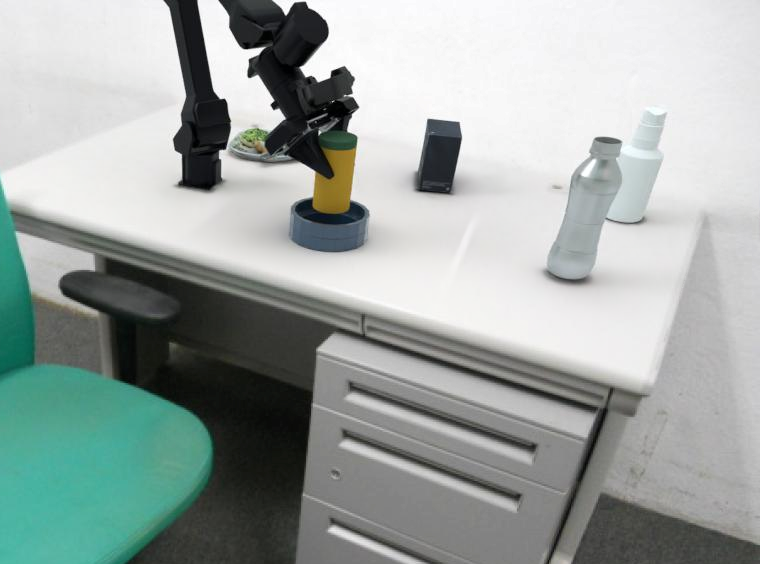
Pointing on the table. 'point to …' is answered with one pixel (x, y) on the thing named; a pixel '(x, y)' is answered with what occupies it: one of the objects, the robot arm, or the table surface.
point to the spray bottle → (639, 167)
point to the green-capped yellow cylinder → (336, 172)
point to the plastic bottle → (586, 210)
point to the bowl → (328, 227)
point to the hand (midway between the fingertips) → (342, 172)
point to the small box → (439, 155)
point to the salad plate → (255, 146)
